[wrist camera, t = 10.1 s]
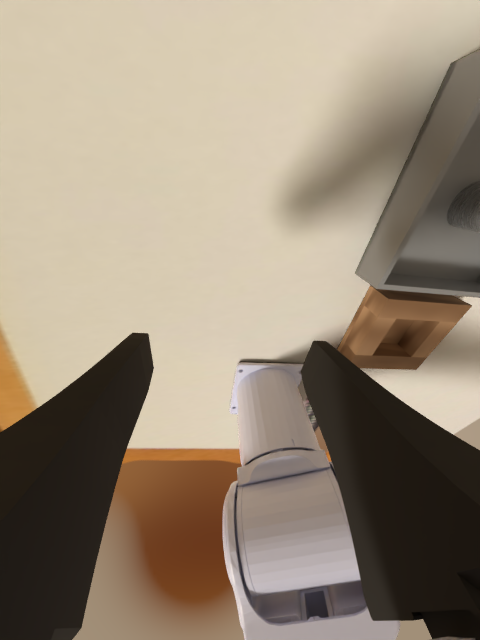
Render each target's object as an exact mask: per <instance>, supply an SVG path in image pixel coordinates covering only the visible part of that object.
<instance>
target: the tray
mask: <svg viewBox="0 0 480 640" xmlns="http://www.w3.org/2000/svg"><path fill="white" fill-rule="evenodd" d="M477 181H480V50H478V51H476V52H474V53H471V54H469V55H467V56H465V57H463V58H461V59H459V60H457V61H455V62H453V63H451V65H450V67H449V69H448V71H447V73H446V76H445V78H444V80H443V82H442V84H441V86H440V89H439V91H438V93H437V95H436V97H435V100H434V102H433V104H432V106H431V108H430V111H429V113H428V115H427V117H426V119H425V121H424V124H423V126H422V128H421V130H420V132H419V135H418V137H417V139H416V141H415V143H414V145H413V148H412V150H411V152H410V154H409V156H408V159H407V161H406V163H405V165H404V167H403V169H402V172H401V174H400V176H399V178H398V180H397V183H396V185H395V187H394V189H393V191H392V193H391V196H390V198H389V200H388V202H387V204H386V207H385V209H384V211H383V213H382V215H381V217H380V220H379V222H378V224H377V226H376V228H375V231H374V233H373V235H372V237H371V239H370V241H369V244H368V246H367V248H366V250H365V252H364V255H363V257H362V259H361V261H360V263H359V266H358V268H357V270H356V272H355V274H357V275H358V276H359V277H361V278H362V279H363V280H365V281H366V282H368V283H369V284H370V285H372V286H373V287H374V288H376V289H384V290H396V291H407V292H419V293H431V294H443V295H455V296H467V297H478V298H480V233H478V232H474V231H469V230H465V229H460V228H456V227H452V226H451V225H449V223H448V221H447V213H448V209H449V207H450V205H451V203H452V202H453V200H454V199H455V197H456V196H457V195H458V194H459V193H460V192H461V191H462V190H463V189H464V188H466V187H467V186H469V185H470V184H472V183H474V182H477Z"/></svg>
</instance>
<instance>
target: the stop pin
mask: <svg viewBox="0 0 480 640" xmlns="http://www.w3.org/2000/svg"><path fill="white" fill-rule="evenodd" d="M447 221H448V223H449V225H451V226H452V227H456V228H460V229H465V230H469V231H474V232H478V233H480V181H477V182H474V183H472V184H470V185H469V186H467V187H466V188H464V189H463V190H462V191H461V192H460V193H459V194H458V195H457V196H456V197H455V199H454V200H453V202H452V203H451V205H450V207H449V209H448V213H447Z"/></svg>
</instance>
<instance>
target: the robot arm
mask: <svg viewBox="0 0 480 640" xmlns="http://www.w3.org/2000/svg"><path fill="white" fill-rule="evenodd" d="M153 369H154V367H153V361H152V354H151V348H150V342H149V335H148V333H132V334H131V335H129V336H128V337H127V338H126V339H125V340H123V341H122V342H121V343H120V344H119V345H118V346H116V347H115V348H114V349H113V350H112V351H111V352H110V353H108V354H107V355H106V356H105V357H104V358H103V359H101V360H100V361H99V362H98V363H97V364H95V365H94V366H93V367H92V368H91V369H89V370H88V371H87V372H86V373H84V374H83V375H82V376H81V377H79V378H78V379H77V380H75V381H74V382H73V383H71V384H70V385H69V386H68V387H66V388H65V389H64V390H62V391H61V392H60V393H58V394H57V395H56V396H54V397H53V398H52V399H50V400H49V401H47V402H46V403H44V404H43V405H42V406H40V407H39V408H37V409H36V410H34V411H33V412H31V413H30V414H28V415H27V416H25V417H24V418H22V419H21V420H19V421H18V422H16V423H15V424H13V425H12V426H10V427H8V428H7V429H5V430H4V431H2V432H0V640H72V639H73V638H74V637H75V635H76V634H77V633H78V631H79V630H80V629H81V627H82V622H83V618H84V613H85V609H86V604H87V599H88V595H89V591H90V587H91V582H92V577H93V573H94V569H95V564H96V560H97V556H98V552H99V548H100V544H101V540H102V536H103V532H104V528H105V524H106V520H107V516H108V512H109V508H110V504H111V501H112V497H113V493H114V489H115V486H116V482H117V479H118V475H119V471H120V468H121V464H122V461H123V458H124V455H125V452H126V449H127V446H128V443H129V440H130V438H131V435H132V433H133V430H134V427H135V425H136V422H137V419H138V417H139V414H140V411H141V409H142V406H143V403H144V401H145V398H146V395H147V393H148V390H149V386H150V382H151V378H152V373H153ZM301 380H303V384H304V388H305V391H306V394H307V397H308V400H309V402H310V405H311V407H312V410H313V412H314V415H315V417H316V420H317V422H318V425H319V427H320V430H321V432H322V435H323V437H324V440H325V442H326V445H327V448H328V451H329V454H330V457H331V460H332V462H329V461H328V459H327V456H326V454H325V451H324V450H320V447H319V444H318V441H317V439H316V436H315V433H314V430H313V428H312V425H311V422H310V420H309V417H308V414H307V411H306V409H305V406H304V403H303V400H302V398H301V395H300V392H299V390H298V386H299V384H300V382H301ZM229 412H230V414H237V419H238V433H239V447H240V459H241V464H242V467H239V468H238V469H237V474H238V481H234V482H233V483H232V484H231V486H230V488H229V491H228V493H227V495H226V498H225V501H224V509H223V546H224V555H225V562H226V568H227V572H228V576H229V579H230V582H231V584H232V586H233V590H234V593H235V597H236V602H237V607H238V613H239V619H240V625H241V627H242V629H243V632H244V640H396V638H397V635H398V633H399V630H400V620H401V621H403V620H419V619H423V620H424V622H425V624H426V626H427V628H428V630H429V633H430V635H431V637H432V639H431V640H480V450H478V449H476V448H475V447H473V446H471V445H469V444H468V443H466V442H464V441H462V440H461V439H459V438H458V437H456V436H455V435H453V434H451V433H450V432H448V431H446V430H445V429H443V428H441V427H440V426H438V425H437V424H435V423H433V422H432V421H430V420H429V419H427V418H426V417H424V416H423V415H421V414H420V413H418V412H417V411H415V410H414V409H412V408H411V407H409V406H408V405H407V404H405V403H404V402H402V401H401V400H400V399H398V398H397V397H395V396H394V395H393V394H391V393H390V392H389V391H387V390H386V389H385V388H383V387H382V386H381V385H379V384H378V383H377V382H376V381H374V380H373V379H372V378H371V377H369V376H368V375H367V374H366V373H364V372H363V371H362V370H361V369H359V368H358V367H357V366H356V365H355V364H353V363H352V362H351V361H350V360H349V359H347V358H346V357H345V356H344V355H343V354H341V353H340V352H339V351H338V350H336V349H335V348H334V347H333V346H331V345H330V344H329V343H327V342H326V341H313V343H312V345H311V348H310V350H309V352H308V355H307V357H306V360H305V362H304V364H281V363H246V362H241V363H238V364H237V366H236V373H235V379H234V385H233V391H232V397H231V403H230V409H229Z"/></svg>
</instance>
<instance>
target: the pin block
mask: <svg viewBox="0 0 480 640" xmlns="http://www.w3.org/2000/svg"><path fill="white" fill-rule="evenodd" d="M471 306H472V305H470V304H468V303H466V302H464V301H462V300H460V299H458V298H456V297H454V296H452V295H443V294H431V293H419V292H407V291H396V290H384V289H376V288H374V287H373V286H370V287H369V289H368V291H367V293H366V295H365V297H364V299H363V301H362V303H361V305H360V307H359V308H358V310H357V312H356V314H355V316H354V318H353V320H352V322H351V324H350V326H349V328H348V330H347V332H346V333H345V335H344V337H343V339H342V341H341V343H340V345H339V347H338V349H337V350H338V351H339V352H340V353H341V354H343V355H344V356H345V357H346V358H347V359H349V360H350V361H351V362H352V363H353V364H355V365H356V366H357V367H358V368H376V369H413V370H416V369H417V368H418V367H419V366H420V365H421V364H422V362H423V361H424V360H425V359H426V358H427V357H428V356H429V354H430V353H431V352H432V351H433V350H434V349H435V347H436V346H437V345H438V344H439V343H440V342H441V341H442V339H443V338H444V337H445V336H446V335H447V334H448V333H449V331H450V330H451V329H452V328H453V327H454V326H455V325H456V323H457V322H458V321H459V320H460V319H461V318H462V317H463V315H464V314H465V313H466V312H467V311H468V310H469V309H470V307H471Z"/></svg>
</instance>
